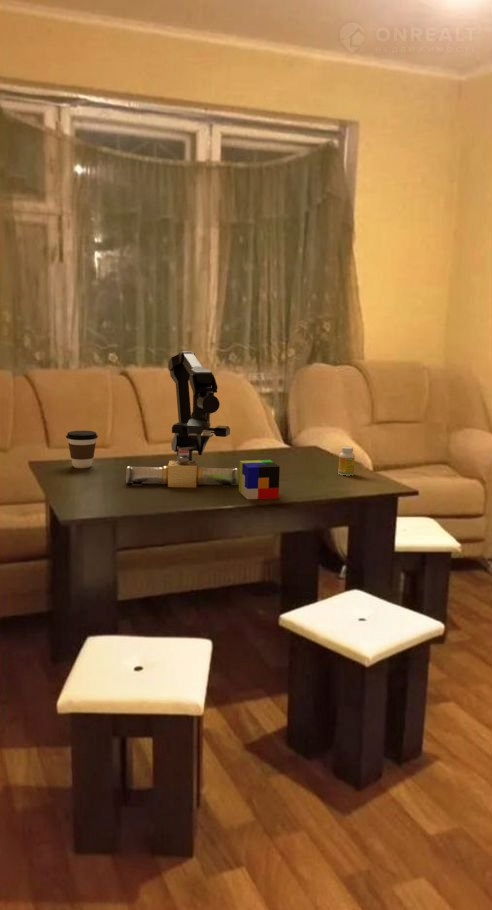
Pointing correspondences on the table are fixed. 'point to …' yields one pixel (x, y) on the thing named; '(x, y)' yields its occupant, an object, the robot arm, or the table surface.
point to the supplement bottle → (346, 461)
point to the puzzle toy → (259, 479)
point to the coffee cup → (82, 447)
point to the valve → (181, 475)
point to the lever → (183, 456)
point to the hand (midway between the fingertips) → (200, 455)
